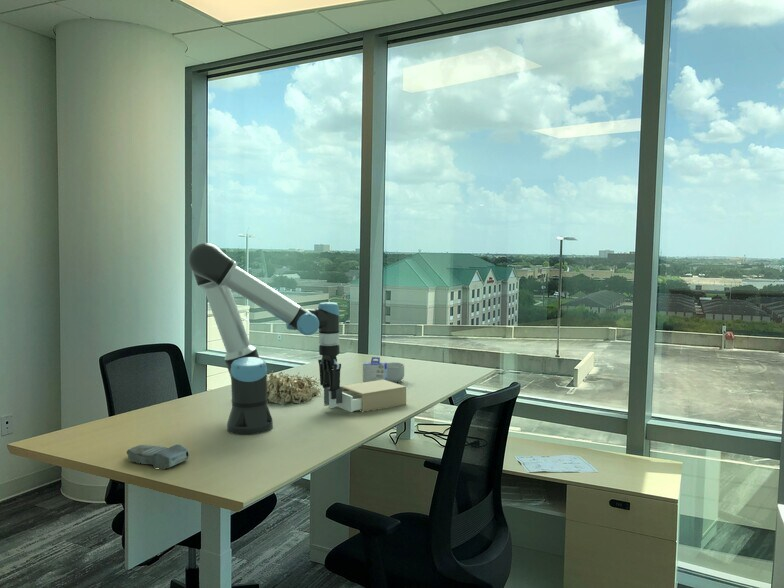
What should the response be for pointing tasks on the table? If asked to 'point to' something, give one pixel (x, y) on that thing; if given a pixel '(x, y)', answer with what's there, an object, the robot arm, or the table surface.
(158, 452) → the handheld device
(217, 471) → the table surface
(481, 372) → the table surface
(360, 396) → the tray
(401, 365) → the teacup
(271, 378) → the dried lichen
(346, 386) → the sleeve
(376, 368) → the ink cartridge box
